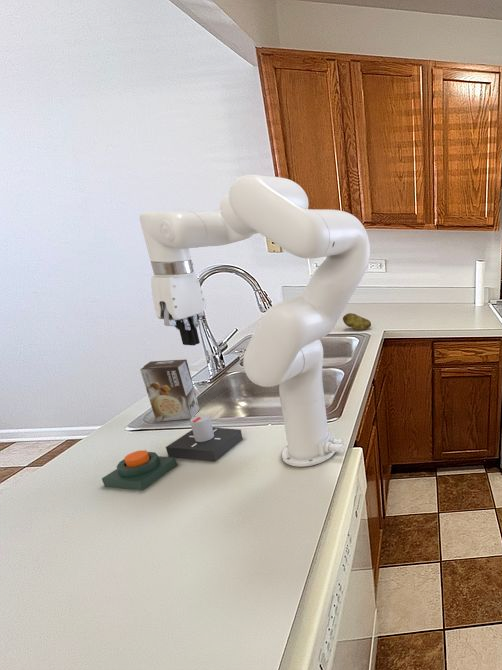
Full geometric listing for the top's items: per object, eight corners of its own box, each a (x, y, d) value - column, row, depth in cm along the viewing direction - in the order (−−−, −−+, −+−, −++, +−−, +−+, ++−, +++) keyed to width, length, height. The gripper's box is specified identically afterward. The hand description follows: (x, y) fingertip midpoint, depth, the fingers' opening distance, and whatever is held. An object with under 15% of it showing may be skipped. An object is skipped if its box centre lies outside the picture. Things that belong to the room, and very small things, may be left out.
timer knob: (203, 433, 100) (197, 412, 98) (218, 434, 100) (213, 413, 98) (191, 441, 97) (185, 420, 95) (206, 442, 96) (201, 421, 94)
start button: (154, 457, 89) (152, 451, 88) (138, 468, 85) (136, 461, 85) (138, 456, 89) (135, 449, 89) (121, 466, 86) (118, 460, 85)
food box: (200, 408, 118) (188, 358, 112) (192, 419, 112) (179, 366, 107) (164, 411, 116) (150, 360, 110) (154, 422, 110) (138, 369, 104)
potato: (366, 332, 195) (364, 316, 192) (341, 330, 196) (340, 314, 193) (372, 327, 202) (371, 312, 199) (349, 326, 204) (347, 310, 201)
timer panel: (243, 439, 104) (240, 428, 102) (215, 462, 94) (212, 450, 93) (200, 435, 105) (197, 425, 103) (168, 457, 95) (165, 446, 94)
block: (177, 465, 93) (173, 450, 91) (143, 490, 84) (138, 475, 83) (142, 462, 93) (137, 447, 92) (104, 487, 85) (98, 471, 83)
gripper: (184, 263, 98) (200, 334, 105) (128, 272, 84) (150, 353, 91) (212, 265, 98) (227, 336, 104) (160, 274, 84) (181, 355, 90)
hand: (191, 344), depth 97 cm, fingers closed
